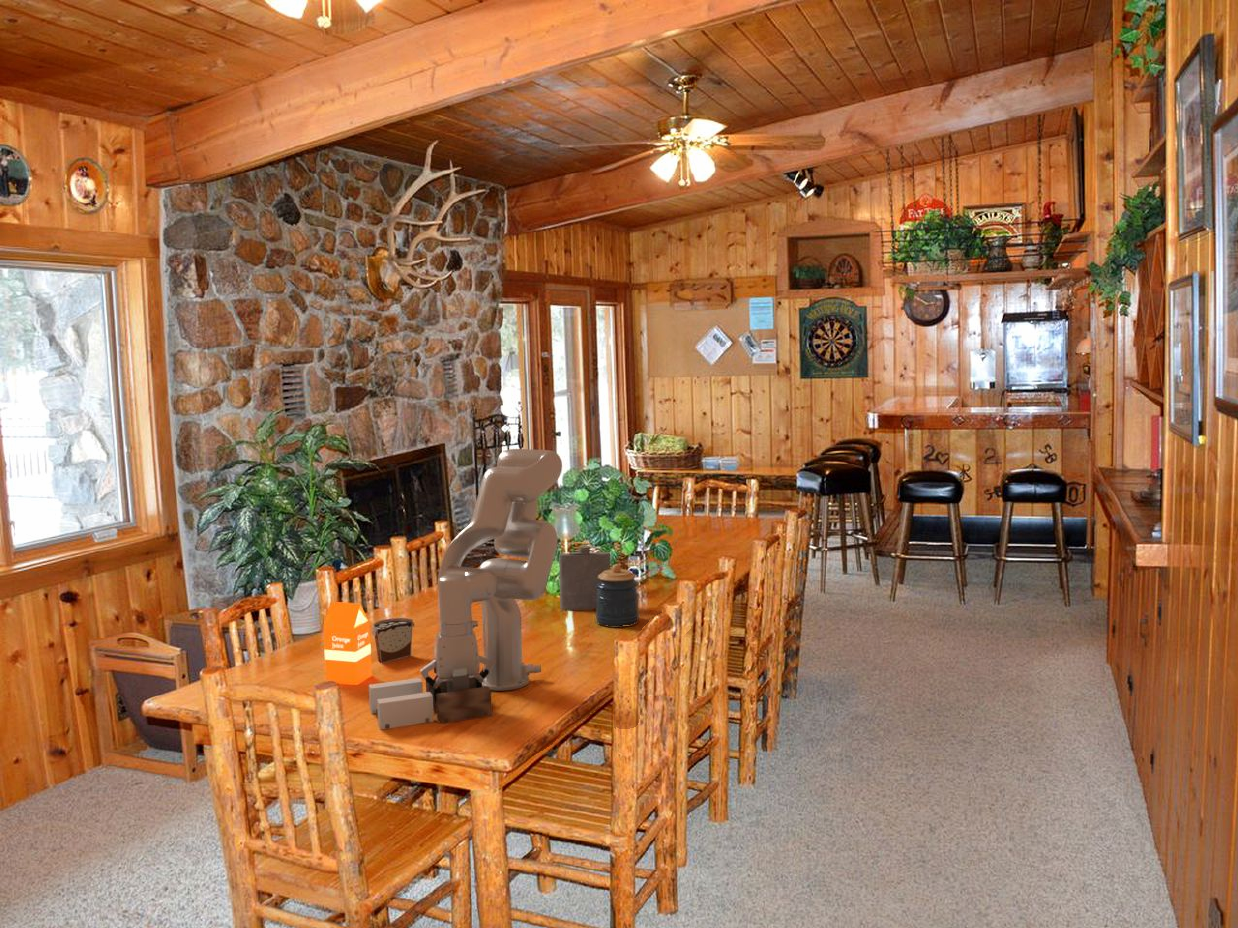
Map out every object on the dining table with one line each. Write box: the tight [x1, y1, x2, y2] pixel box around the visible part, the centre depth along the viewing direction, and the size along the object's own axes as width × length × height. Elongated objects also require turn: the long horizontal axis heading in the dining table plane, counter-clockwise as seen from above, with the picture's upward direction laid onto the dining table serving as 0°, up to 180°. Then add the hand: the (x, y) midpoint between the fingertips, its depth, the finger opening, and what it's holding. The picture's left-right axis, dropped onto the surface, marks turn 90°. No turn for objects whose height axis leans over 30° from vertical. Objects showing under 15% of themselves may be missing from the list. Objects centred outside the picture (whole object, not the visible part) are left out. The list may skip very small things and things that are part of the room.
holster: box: [425, 675, 493, 724], centre depth 256 cm, size 12×14×6 cm
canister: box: [595, 563, 640, 626], centre depth 328 cm, size 13×13×18 cm
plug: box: [446, 668, 470, 692], centre depth 256 cm, size 4×6×11 cm, turn 22°
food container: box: [371, 617, 415, 664], centre depth 297 cm, size 12×6×10 cm, turn 135°
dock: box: [368, 677, 435, 730], centre depth 253 cm, size 12×14×6 cm
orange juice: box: [323, 601, 373, 686], centre depth 279 cm, size 8×9×20 cm
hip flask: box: [558, 545, 611, 611], centre depth 344 cm, size 16×4×20 cm, turn 95°
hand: (457, 700), depth 256 cm, fingers open, 8 cm apart
